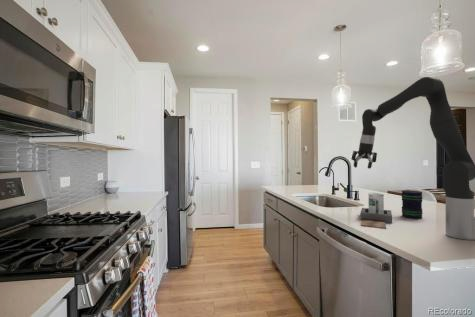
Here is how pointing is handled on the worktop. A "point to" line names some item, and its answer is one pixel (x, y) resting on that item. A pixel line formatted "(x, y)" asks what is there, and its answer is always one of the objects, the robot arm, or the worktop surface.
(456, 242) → the worktop surface
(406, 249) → the worktop surface
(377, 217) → the square-hole rail
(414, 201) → the storage jar
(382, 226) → the walnut pad
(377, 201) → the syrup box
